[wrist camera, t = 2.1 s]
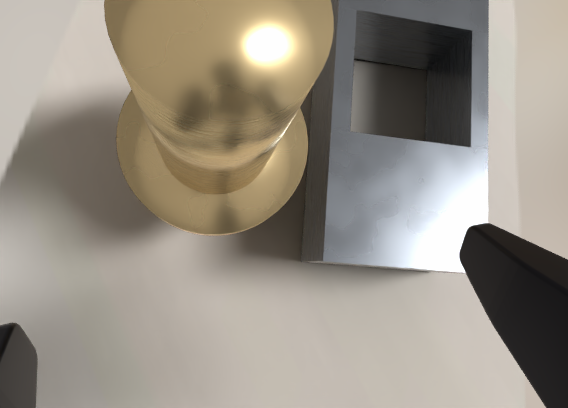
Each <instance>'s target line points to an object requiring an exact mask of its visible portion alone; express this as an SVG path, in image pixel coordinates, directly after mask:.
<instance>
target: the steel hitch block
mask: <svg viewBox="0 0 568 408" xmlns="http://www.w3.org/2000/svg"><path fill="white" fill-rule="evenodd" d="M331 3H332V10H333V17H334V31H333V39H332V45H331V48H330V52H329V56H328V58H327V60H326V63H325V65H324V67H323V69H322V71H321V73H320V74H319V76H318V78H317V79H316V81H315V83H314V84H313V92H312V107H311V121H310V136H309V151H308V165H307V180H306V195H305V209H304V224H303V239H302V253H301V262H313V263H326V264H339V265H351V266H364V267H377V268H390V269H402V270H415V271H428V272H444V273H465V271H464V269H463V267H462V265H461V262H460V259H459V251H460V248H461V245H462V242H463V239H464V236H465V233H466V231H467V229H468V228H469V227H470V226H472V225H477V224H481V223H488V6H489V0H331ZM354 58H356V59H362V60H368V61H374V62H381V63H387V64H393V65H399V66H405V67H412V68H418V69H424V70H427V96H426V134H425V141H418V140H410V139H403V138H395V137H388V136H380V135H373V134H365V133H357V132H350V123H351V104H352V86H353V67H354Z"/></svg>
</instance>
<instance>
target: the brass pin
mask: <svg viewBox="0 0 568 408" xmlns="http://www.w3.org/2000/svg"><path fill="white" fill-rule="evenodd" d="M104 10H105V21H106V26H107V30H108V35H109V37H110V40H111V43H112V45H113V48H114V50H115V53H116V55H117V57H118V60H119V62H120V64H121V66H122V69H123V71H124V73H125V75H126V78H127V80H128V82H129V85H130V87H131V89H132V90H131V92H130V93H129V95H128V97H127V99H126V101H125V102H124V105H123V107H122V110H121V113H120V116H119V120H118V125H117V135H116V144H117V154H118V159H119V163H120V167H121V169H122V172H123V175H124V177H125V179H126V181H127V183H128V185H129V186H130V188H131V190H132V191H133V192H134V194H135V195H136V196H137V198H138V199H139V200H140V201H141V202H142V203H143V204H144V205H145V206H146V207H147V208H148V209H149V210H150V211H151V212H152V213H154V214H155V215H156V216H157V217H159V218H160V219H161V220H163V221H165V222H166V223H168V224H170V225H171V226H174V227H176V228H178V229H180V230H183V231H186V232H190V233H193V234H199V235H206V236H222V235H231V234H235V233H239V232H243V231H245V230H248V229H250V228H253V227H255V226H257V225H259V224H260V223H262V222H264V221H265V220H267V219H268V218H269V217H271V216H272V215H273V214H275V213H276V212H277V211H278V210H279V209H280V208H281V207H282V206H284V205H285V204H286V202H287V201H288V200H289V198H290V197H291V196H292V195H293V193H294V191H295V190H296V188H297V186H298V185H299V183H300V180H301V178H302V176H303V173H304V169H305V166H306V162H307V154H308V135H307V128H306V124H305V120H304V116H303V114H302V111H301V109H300V106H301V105H302V103H303V101H304V100H305V98H306V96H307V94H308V93H309V91H310V89H311V88H312V86H313V84H314V83H315V81H316V79H317V78H318V76H319V74H320V73H321V71H322V69H323V67H324V65H325V63H326V60H327V58H328V56H329V52H330V48H331V45H332V39H333V31H334V17H333V10H332V3H331V0H105V2H104Z"/></svg>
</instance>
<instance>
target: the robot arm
mask: <svg viewBox="0 0 568 408" xmlns="http://www.w3.org/2000/svg"><path fill="white" fill-rule="evenodd" d="M459 259H460V262H461V265H462V267H463V269H464V271H465V273H466V275H467V276H468V278H469V280H470V282H471V284H472V286H473V288H474V290H475V292H476V294H477V296H478V298H479V300H480V302H481V304H482V306H483V308H484V310H485V312H486V314H487V315H488V317H489V319H490V321H491V323H492V324H493V326H494V328H495V329H496V331H497V332H498V334H499V336H500V337H501V339H502V340H503V342H504V343H505V345H506V346H507V348H508V349H509V351H510V353H511V354H512V356H513V357H514V359H515V360H516V362H517V363H518V365H519V366H520V368H521V370H522V371H523V373H524V374H525V376H526V377H527V379H528V380H529V382H530V383H531V385H532V387H533V388H534V390H535V391H536V393H537V394H538V396H539V397H540V399H541V400H542V402H543V403H544V405H545V406H546V408H568V260H567V259H565V258H563V257H561V256H559V255H556V254H554V253H552V252H550V251H548V250H546V249H544V248H541V247H539V246H537V245H535V244H533V243H531V242H529V241H526V240H524V239H522V238H520V237H518V236H516V235H514V234H512V233H509V232H507V231H505V230H503V229H501V228H499V227H496V226H494V225H492V224H490V223H481V224H477V225H472V226H470V227H469V228H468V229H467V231H466V233H465V236H464V239H463V242H462V245H461V248H460V251H459ZM36 387H37V353H36V350H35V348H34V346H33V344H32V343H31V341H30V340H29V338H28V337H27V335H26V334H25V332H24V331H23V329H22V328H21V327H20V325H18V324H17V323H9V324H4V325H0V408H36Z"/></svg>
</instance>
